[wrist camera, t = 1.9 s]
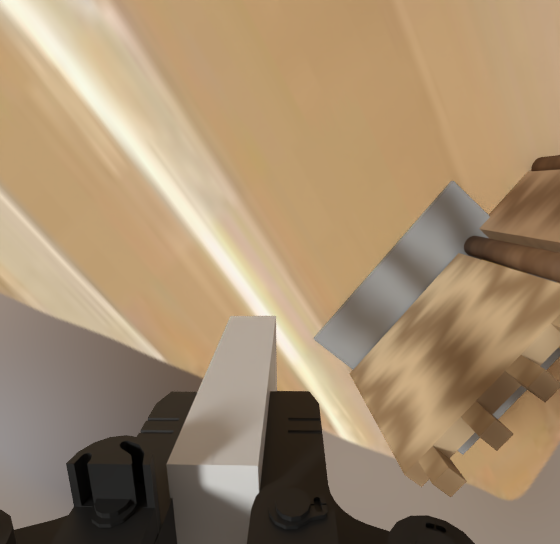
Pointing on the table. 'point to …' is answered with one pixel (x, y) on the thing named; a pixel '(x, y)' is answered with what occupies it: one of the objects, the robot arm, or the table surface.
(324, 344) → the fence base
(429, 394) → the fence panel
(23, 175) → the table surface
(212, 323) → the table surface
